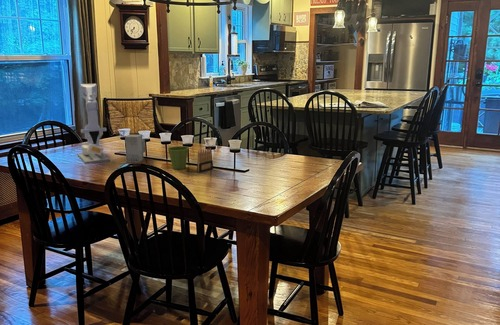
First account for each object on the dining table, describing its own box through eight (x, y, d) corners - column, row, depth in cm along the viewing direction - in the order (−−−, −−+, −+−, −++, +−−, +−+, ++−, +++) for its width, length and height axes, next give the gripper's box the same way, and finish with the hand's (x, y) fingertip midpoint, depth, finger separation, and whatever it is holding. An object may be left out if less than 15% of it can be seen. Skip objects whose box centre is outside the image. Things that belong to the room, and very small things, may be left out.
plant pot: (181, 164, 259) (180, 145, 257) (194, 168, 251) (193, 148, 249) (163, 168, 251) (162, 148, 249) (176, 171, 243) (175, 151, 241)
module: (86, 150, 276) (89, 143, 276) (99, 154, 280) (102, 147, 280) (88, 151, 272) (90, 144, 272) (100, 155, 276) (103, 148, 276)
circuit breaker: (146, 157, 280) (145, 132, 277) (138, 162, 266) (137, 136, 263) (134, 156, 281) (133, 132, 277) (126, 161, 267) (124, 136, 264)
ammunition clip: (199, 173, 240) (198, 150, 238) (196, 172, 241) (196, 150, 239) (213, 169, 248) (212, 147, 246) (210, 168, 250) (210, 147, 247)
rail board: (77, 155, 285) (76, 145, 284) (100, 153, 292) (99, 143, 291) (85, 163, 263) (84, 153, 262) (109, 160, 270) (109, 150, 268)
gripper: (81, 123, 265) (83, 145, 268) (106, 121, 272) (108, 143, 275) (79, 121, 271) (81, 144, 274) (104, 119, 278) (106, 141, 281)
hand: (94, 143), depth 275 cm, fingers closed
